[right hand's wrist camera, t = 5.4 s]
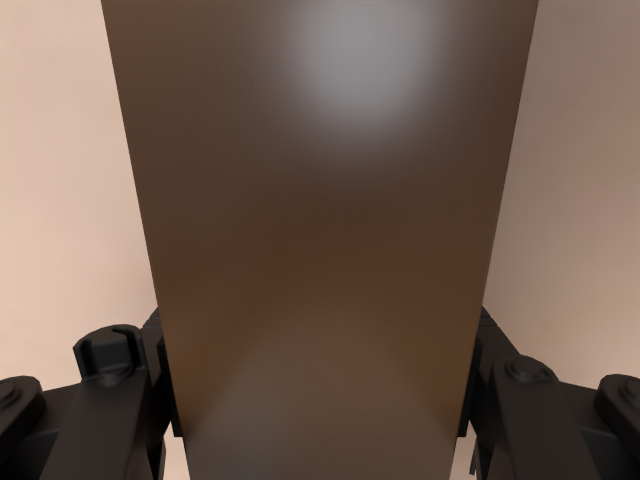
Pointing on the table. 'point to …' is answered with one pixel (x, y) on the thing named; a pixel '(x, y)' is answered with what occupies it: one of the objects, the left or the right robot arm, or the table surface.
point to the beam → (319, 219)
